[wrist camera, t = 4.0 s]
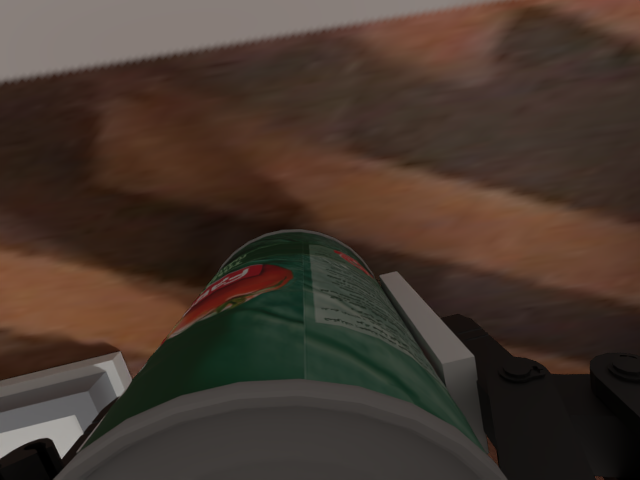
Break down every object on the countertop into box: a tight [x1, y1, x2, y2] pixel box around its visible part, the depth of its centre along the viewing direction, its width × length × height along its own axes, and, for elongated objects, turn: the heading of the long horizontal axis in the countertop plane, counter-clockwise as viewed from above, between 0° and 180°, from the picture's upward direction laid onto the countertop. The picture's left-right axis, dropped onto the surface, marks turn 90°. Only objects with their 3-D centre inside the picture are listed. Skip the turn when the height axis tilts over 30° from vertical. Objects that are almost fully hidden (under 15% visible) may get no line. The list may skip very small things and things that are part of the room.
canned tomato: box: [53, 229, 507, 480], centre depth 10 cm, size 8×8×11 cm
